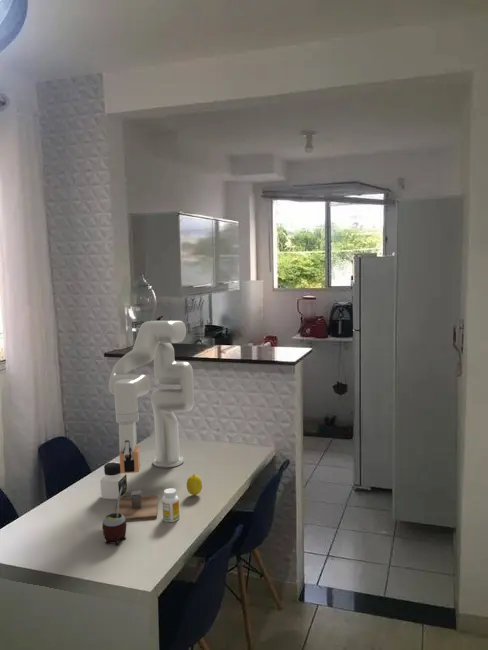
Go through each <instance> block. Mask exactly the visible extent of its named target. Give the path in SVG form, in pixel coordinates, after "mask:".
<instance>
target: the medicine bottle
mask: <svg viewBox="0 0 488 650" xmlns="http://www.w3.org/2000/svg"><path fill="white" fill-rule="evenodd" d="M103 469H104V470H103V471H104V476H103V477H102V478H101V479H100V482H99V483H100V495H101V499H103V500H118V496H119V492H120V489H121V487H123V488H122V491H121V495H120V498H123V497H124V496H125V494H126V493H127V492H128V481H127V478H128V477H127V473H121V470H120V461H110V462H107V463H106V464H104V466H103Z"/></svg>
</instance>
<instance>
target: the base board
mask: <svg viewBox="0 0 488 650" xmlns="http://www.w3.org/2000/svg"><path fill="white" fill-rule="evenodd" d="M141 501H142V505H141V508H135V509H132V498H131V496H126V497H124V496H122V497H121V498H120V503H119V513H120V514H122V515H123V516H124V517H125V520H126V522H130V521H144V520H154V519H155V520H156V519H157V518H158V508H159V494H151V495H141ZM117 506H118V502H117V503H116V507H115V512H114V513H117Z"/></svg>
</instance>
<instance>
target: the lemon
mask: <svg viewBox="0 0 488 650" xmlns="http://www.w3.org/2000/svg"><path fill="white" fill-rule="evenodd" d="M186 489H187V492H188V493H189V494H191V495H193V496H194V497H196V496H197V495H198V494H200V493H201V492H202V489H203V482H202V479H201V477H200V476H199V475H197V474H192V475H190V476H189V477H188V478H187V481H186Z"/></svg>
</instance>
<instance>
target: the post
mask: <svg viewBox="0 0 488 650" xmlns="http://www.w3.org/2000/svg"><path fill="white" fill-rule="evenodd" d="M130 495H131V496H130V497H131V498H132V509H135V508H141V505H142V501H141V496H142V490H132V491H131V494H130Z"/></svg>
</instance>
